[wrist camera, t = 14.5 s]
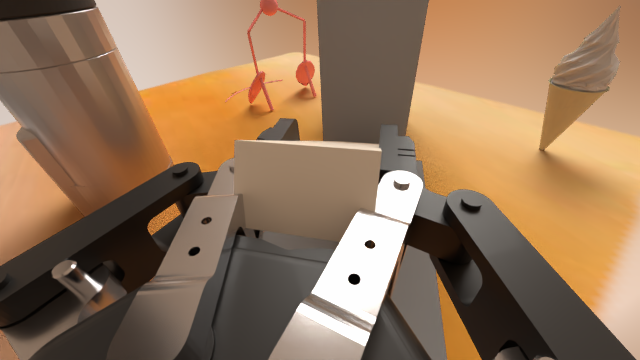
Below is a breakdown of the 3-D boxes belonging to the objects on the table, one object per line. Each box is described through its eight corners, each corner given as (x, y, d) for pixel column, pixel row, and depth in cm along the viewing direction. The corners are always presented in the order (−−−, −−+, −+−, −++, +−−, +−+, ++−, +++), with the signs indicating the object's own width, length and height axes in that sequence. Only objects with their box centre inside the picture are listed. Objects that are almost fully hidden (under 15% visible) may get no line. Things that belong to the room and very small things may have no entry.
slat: (371, 246, 7) (381, 151, 7) (233, 226, 8) (234, 140, 7) (376, 167, 28) (379, 143, 28) (339, 164, 29) (341, 141, 29)
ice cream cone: (550, 138, 35) (627, 1, 25) (577, 160, 31) (680, 7, 21) (510, 139, 35) (571, 3, 26) (531, 160, 31) (613, 10, 22)
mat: (460, 527, 11) (468, 528, 11) (176, 432, 14) (167, 428, 13) (419, 169, 31) (421, 160, 30) (304, 159, 34) (303, 151, 33)
